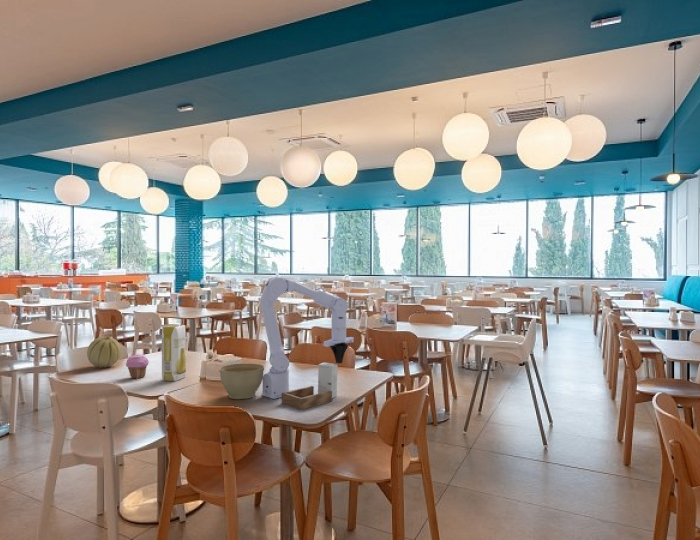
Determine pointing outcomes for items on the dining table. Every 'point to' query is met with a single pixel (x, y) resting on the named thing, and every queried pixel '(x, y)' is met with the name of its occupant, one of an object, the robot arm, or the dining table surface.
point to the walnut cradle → (305, 398)
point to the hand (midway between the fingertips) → (339, 362)
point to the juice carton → (173, 352)
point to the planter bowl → (241, 379)
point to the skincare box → (327, 378)
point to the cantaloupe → (104, 352)
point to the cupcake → (137, 365)
